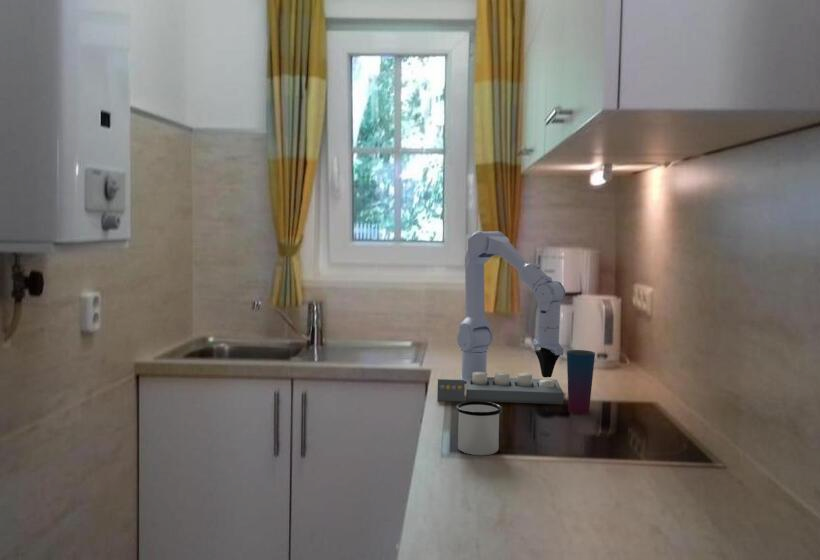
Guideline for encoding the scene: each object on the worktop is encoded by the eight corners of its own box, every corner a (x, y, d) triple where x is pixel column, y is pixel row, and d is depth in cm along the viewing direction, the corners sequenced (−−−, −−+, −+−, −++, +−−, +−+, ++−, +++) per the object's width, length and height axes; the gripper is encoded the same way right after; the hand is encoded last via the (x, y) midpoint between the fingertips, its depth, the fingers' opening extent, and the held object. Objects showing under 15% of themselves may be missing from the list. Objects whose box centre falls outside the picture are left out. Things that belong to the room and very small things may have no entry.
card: (437, 399, 197) (437, 378, 197) (464, 400, 196) (464, 379, 196) (437, 400, 196) (437, 379, 195) (464, 401, 195) (464, 380, 195)
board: (466, 386, 212) (467, 376, 212) (556, 390, 210) (556, 379, 210) (466, 400, 196) (466, 389, 196) (563, 404, 194) (563, 392, 194)
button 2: (494, 384, 206) (494, 372, 206) (508, 385, 206) (509, 372, 205) (494, 387, 202) (494, 375, 202) (509, 388, 202) (509, 375, 201)
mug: (499, 458, 150) (500, 414, 149) (451, 454, 151) (452, 410, 151) (503, 441, 161) (504, 399, 161) (460, 437, 163) (461, 396, 162)
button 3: (516, 385, 206) (516, 373, 205) (531, 385, 205) (531, 373, 205) (517, 388, 202) (517, 376, 201) (532, 389, 201) (532, 376, 201)
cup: (581, 416, 182) (583, 355, 181) (559, 410, 188) (561, 351, 186) (598, 412, 187) (600, 352, 185) (576, 406, 192) (578, 348, 191)
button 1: (472, 383, 206) (472, 371, 206) (486, 384, 206) (487, 372, 206) (472, 387, 203) (472, 374, 202) (487, 387, 202) (487, 375, 202)
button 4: (538, 391, 205) (538, 379, 205) (553, 392, 205) (553, 379, 205) (539, 394, 201) (540, 382, 201) (554, 395, 201) (555, 382, 201)
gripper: (523, 323, 207) (522, 371, 209) (546, 331, 193) (544, 383, 195) (547, 322, 209) (545, 370, 210) (571, 330, 195) (569, 382, 196)
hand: (546, 376), depth 203 cm, fingers closed
